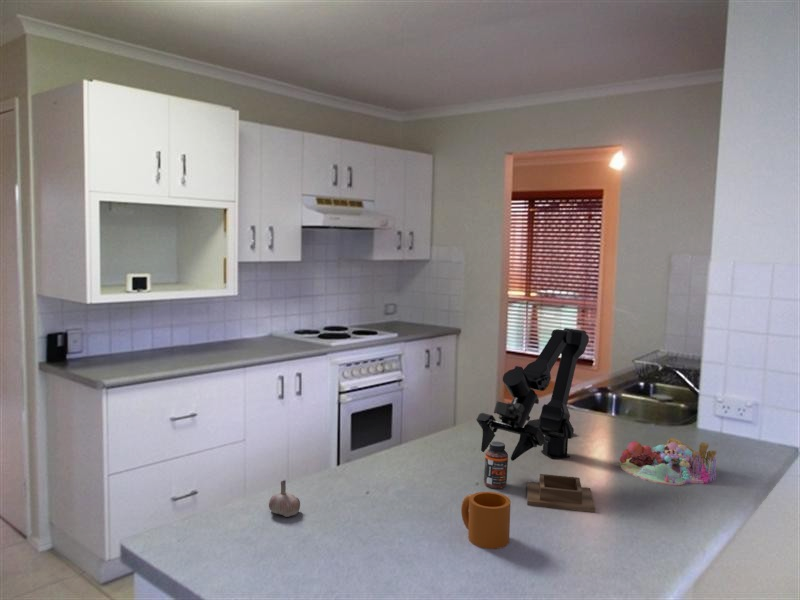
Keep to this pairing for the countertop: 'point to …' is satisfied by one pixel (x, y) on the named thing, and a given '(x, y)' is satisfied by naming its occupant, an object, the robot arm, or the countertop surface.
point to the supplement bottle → (496, 465)
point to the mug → (487, 519)
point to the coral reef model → (670, 463)
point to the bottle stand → (560, 493)
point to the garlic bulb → (284, 502)
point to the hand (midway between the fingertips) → (496, 455)
